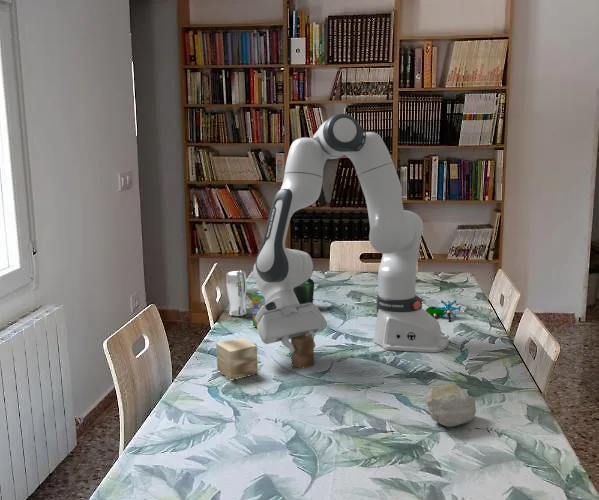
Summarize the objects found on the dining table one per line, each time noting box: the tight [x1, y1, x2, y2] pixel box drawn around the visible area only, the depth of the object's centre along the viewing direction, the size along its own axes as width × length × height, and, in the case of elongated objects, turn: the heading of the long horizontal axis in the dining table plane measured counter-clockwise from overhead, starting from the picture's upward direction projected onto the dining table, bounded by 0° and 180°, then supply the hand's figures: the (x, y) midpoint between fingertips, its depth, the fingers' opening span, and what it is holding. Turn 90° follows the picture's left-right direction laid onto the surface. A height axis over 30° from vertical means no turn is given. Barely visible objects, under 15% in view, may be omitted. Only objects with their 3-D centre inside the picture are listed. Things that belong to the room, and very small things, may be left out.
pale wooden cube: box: [215, 337, 259, 380], centre depth 179 cm, size 8×8×8 cm
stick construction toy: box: [424, 299, 462, 323], centre depth 223 cm, size 12×7×8 cm
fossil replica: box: [424, 383, 477, 428], centre depth 148 cm, size 12×8×10 cm
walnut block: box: [290, 335, 315, 369], centre depth 184 cm, size 4×4×8 cm
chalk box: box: [251, 290, 266, 327], centre depth 218 cm, size 9×9×15 cm
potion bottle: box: [293, 277, 315, 304], centre depth 237 cm, size 8×8×18 cm
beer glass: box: [225, 270, 247, 316], centre depth 232 cm, size 7×7×15 cm
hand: (303, 349), depth 184 cm, fingers closed on walnut block, 4 cm apart
